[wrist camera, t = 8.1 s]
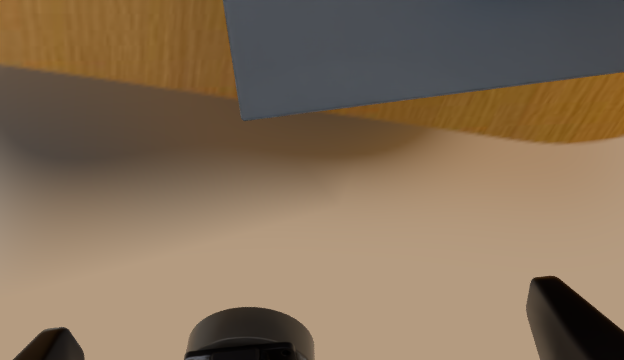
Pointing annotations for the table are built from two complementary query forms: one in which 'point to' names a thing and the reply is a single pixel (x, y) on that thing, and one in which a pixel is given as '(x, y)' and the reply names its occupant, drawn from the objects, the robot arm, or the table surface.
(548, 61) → the lid
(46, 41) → the table surface
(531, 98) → the table surface
